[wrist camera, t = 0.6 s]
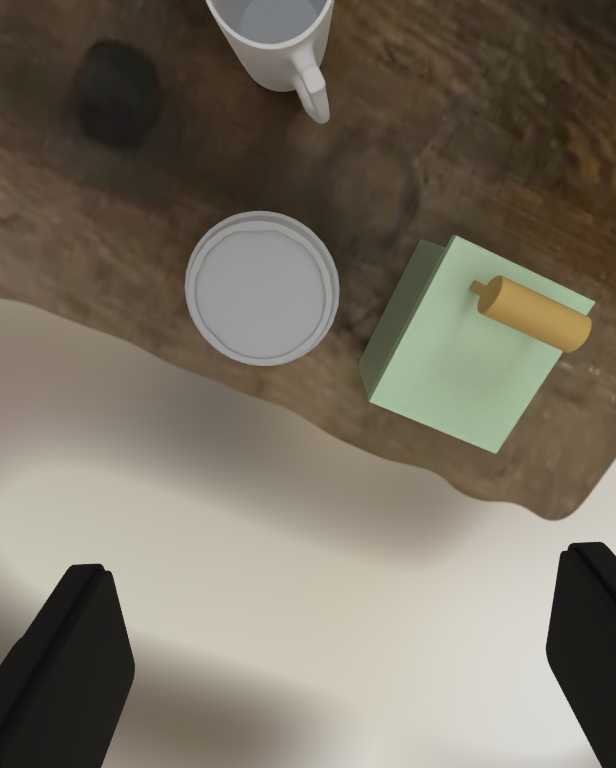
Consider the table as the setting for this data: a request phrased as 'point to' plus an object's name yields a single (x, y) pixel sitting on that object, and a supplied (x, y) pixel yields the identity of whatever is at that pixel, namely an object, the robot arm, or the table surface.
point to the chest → (398, 310)
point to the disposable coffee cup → (262, 288)
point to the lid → (479, 345)
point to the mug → (281, 45)
